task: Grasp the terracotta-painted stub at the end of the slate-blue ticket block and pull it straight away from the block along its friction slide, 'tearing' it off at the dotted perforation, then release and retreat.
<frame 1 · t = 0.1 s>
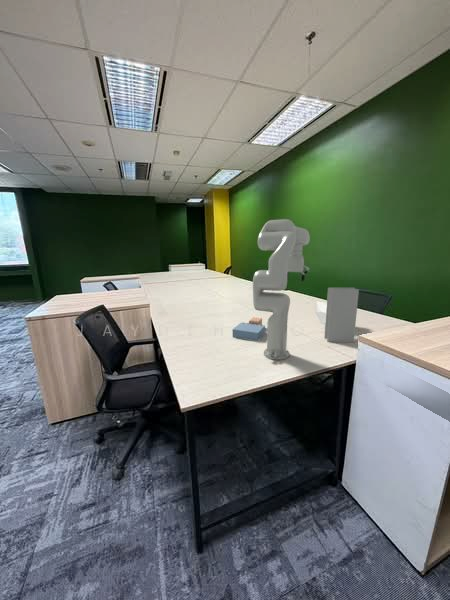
hand: (294, 280, 154), 31 cm above the table, fingers open, 9 cm apart
stub: (255, 323, 159), point 3 cm above the table, slide at 0.0 cm
ticket block: (249, 335, 149), on the table
folded paper: (329, 325, 162), on the table
tall grey block: (338, 340, 138), on the table
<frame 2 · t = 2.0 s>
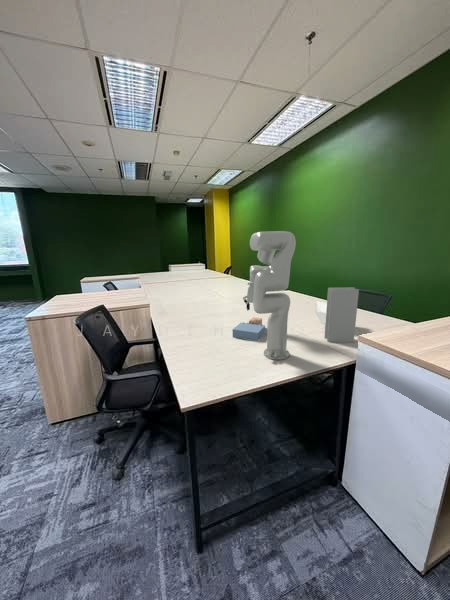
hand: (255, 310, 158), 12 cm above the table, fingers open, 9 cm apart
nothing on the table moved.
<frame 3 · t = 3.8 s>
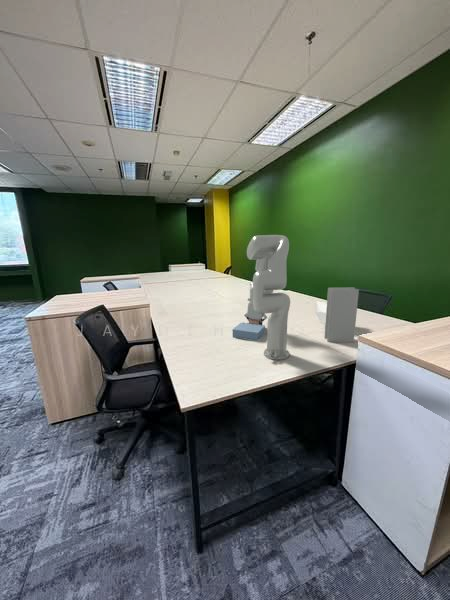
hand: (255, 327, 159), 1 cm above the table, fingers closed on stub, 6 cm apart
stub: (255, 323, 159), point 3 cm above the table, slide at 0.0 cm, touching gripper
everything else where it was.
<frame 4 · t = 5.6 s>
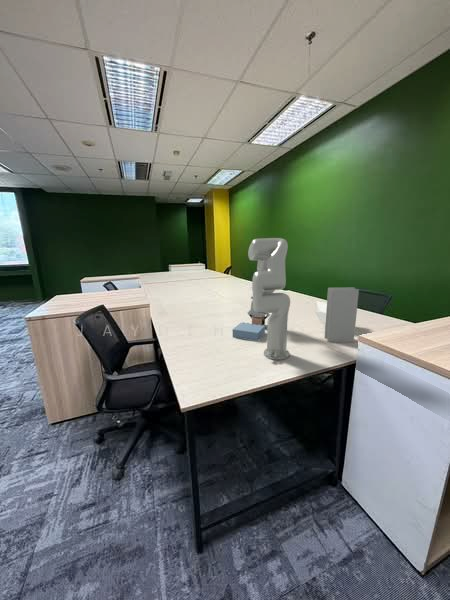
hand: (258, 324, 165), 1 cm above the table, fingers closed on stub, 6 cm apart
stub: (258, 321, 164), point 3 cm above the table, slide at 6.0 cm, touching gripper
everything else where it was.
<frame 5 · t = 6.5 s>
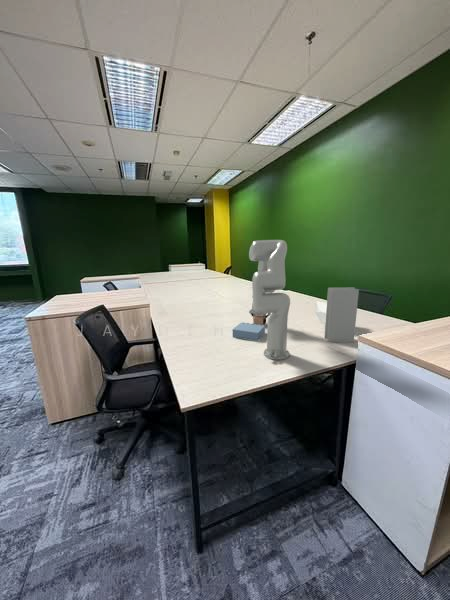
hand: (259, 323, 167), 1 cm above the table, fingers closed on stub, 6 cm apart
stub: (259, 320, 167), point 3 cm above the table, slide at 8.9 cm, touching gripper
everything else where it was.
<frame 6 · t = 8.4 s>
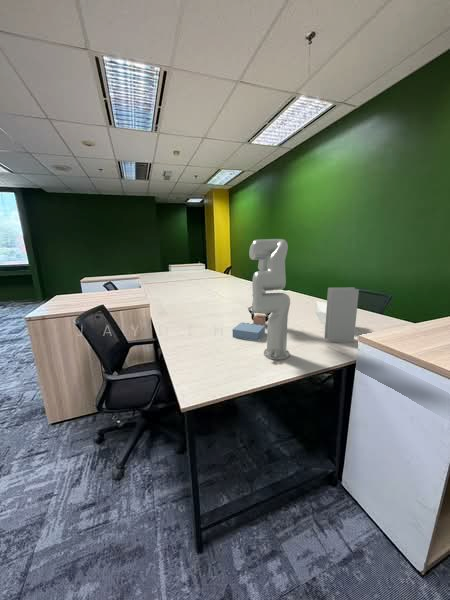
hand: (259, 320, 166), 3 cm above the table, fingers open, 9 cm apart
stub: (259, 320, 166), point 3 cm above the table, slide at 8.6 cm
everything else where it was.
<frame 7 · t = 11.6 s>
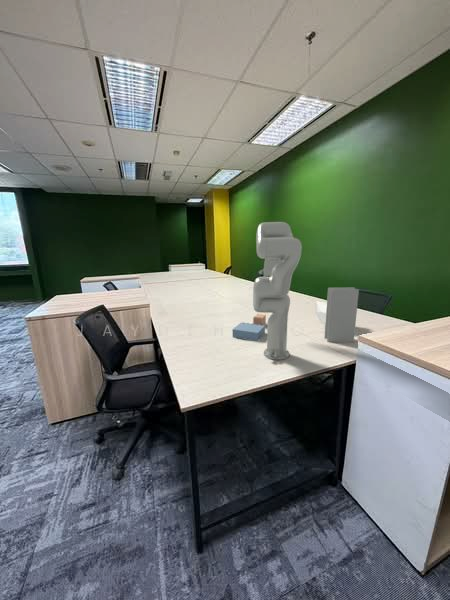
hand: (272, 285, 144), 30 cm above the table, fingers open, 9 cm apart
nothing on the table moved.
at the end: stub slide at 8.6 cm; the gripper is holding nothing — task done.
